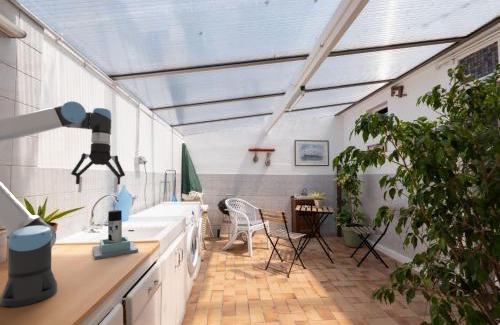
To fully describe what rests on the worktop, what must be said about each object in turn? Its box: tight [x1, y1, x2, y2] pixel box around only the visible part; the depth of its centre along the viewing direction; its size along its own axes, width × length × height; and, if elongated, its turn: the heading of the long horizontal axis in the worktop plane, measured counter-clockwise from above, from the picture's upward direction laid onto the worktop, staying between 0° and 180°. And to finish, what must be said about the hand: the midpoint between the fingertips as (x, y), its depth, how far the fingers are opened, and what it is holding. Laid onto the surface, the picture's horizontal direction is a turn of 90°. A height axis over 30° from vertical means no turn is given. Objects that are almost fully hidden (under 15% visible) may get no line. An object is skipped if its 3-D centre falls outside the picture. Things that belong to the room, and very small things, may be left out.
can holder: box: [92, 235, 139, 260], centre depth 143 cm, size 20×20×6 cm
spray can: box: [107, 209, 123, 244], centre depth 144 cm, size 7×7×20 cm
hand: (98, 192), depth 114 cm, fingers open, 13 cm apart
